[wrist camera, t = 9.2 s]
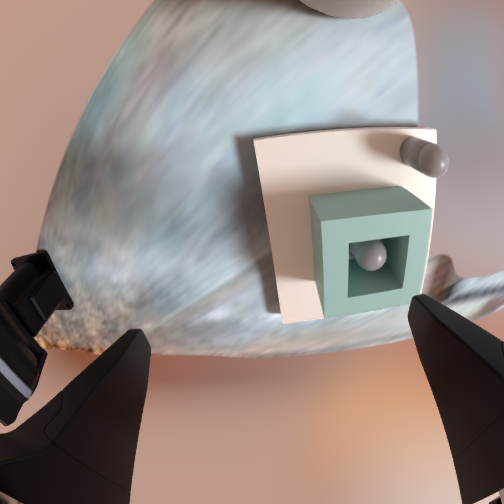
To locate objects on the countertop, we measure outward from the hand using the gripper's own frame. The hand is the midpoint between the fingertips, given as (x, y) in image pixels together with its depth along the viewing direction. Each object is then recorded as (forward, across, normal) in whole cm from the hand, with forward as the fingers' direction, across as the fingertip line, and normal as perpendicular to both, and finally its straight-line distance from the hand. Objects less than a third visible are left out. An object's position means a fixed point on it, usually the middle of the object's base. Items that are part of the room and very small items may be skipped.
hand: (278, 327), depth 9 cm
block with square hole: (+10, -6, +3) cm, 12 cm away
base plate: (+11, -6, +3) cm, 13 cm away
